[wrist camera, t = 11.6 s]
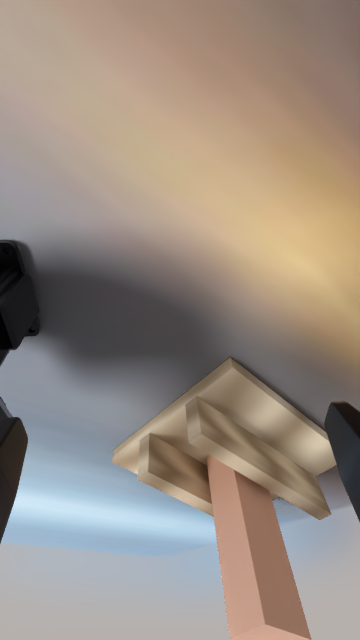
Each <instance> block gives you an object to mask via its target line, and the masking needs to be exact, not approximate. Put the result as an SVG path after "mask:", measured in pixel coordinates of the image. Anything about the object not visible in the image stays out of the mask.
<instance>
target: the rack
mask: <svg viewBox="0 0 360 640" xmlns="http://www.w3.org/2000/svg"><path fill="white" fill-rule="evenodd" d="M208 455H210V456H212V457H213V458H215V459H217V460H219V461H220V462H222V463H224V464H225V465H227V466H229V467H230V468H232V469H234V470H236V471H237V472H239V473H241V474H242V475H244V476H246V477H247V478H249V479H251V480H252V481H254V482H256V483H258V484H259V485H261V486H263V487H264V488H266V489H268V490H269V492H270V495H271V499H272V501H273V500H275V499H277V498H279V497H281V498H283V499H285V500H286V501H288V502H290V503H292V504H293V505H295V506H297V507H298V508H300V509H302V510H303V511H305V512H307V513H308V514H310V515H312V516H314V517H315V518H317V519H319V520H321V519H323V518H325V517H327V516H329V515H331V512H330V510H329V507H328V505H327V502H326V500H325V498H324V495H323V493H322V490H321V488H320V486H319V483H318V481H317V478H316V476H318V475H320V474H321V473H323V472H325V471H327V470H328V469H330V468H332V467H334V466H336V465H337V464H336V461H335V458H334V455H333V452H332V449H331V445H330V442H329V439H328V436H327V433H326V432H325V431H324V430H322V429H321V428H320V427H318V426H317V425H316V424H315V423H313V422H312V421H311V420H309V419H308V418H307V417H306V416H304V415H303V414H302V413H301V412H299V411H298V410H297V409H295V408H294V407H293V406H292V405H290V404H289V403H288V402H286V401H285V400H284V399H283V398H281V397H280V396H279V395H278V394H276V393H275V392H274V391H272V390H271V389H270V388H269V387H267V386H266V385H265V384H264V383H262V382H261V381H260V380H258V379H257V378H256V377H255V376H253V375H252V374H251V373H249V372H248V371H247V370H246V369H244V368H243V367H242V366H241V365H239V364H238V363H237V362H235V361H234V360H233V359H232V358H228V359H227V360H226V361H224V362H223V363H222V364H221V365H219V366H218V367H217V368H216V369H214V370H213V371H212V372H211V373H209V374H208V375H207V376H206V377H204V378H203V379H202V380H201V381H199V382H198V383H197V384H196V385H194V386H193V387H192V388H191V389H189V390H188V391H187V392H186V393H184V394H183V395H182V396H181V397H179V398H178V399H177V400H176V401H174V402H173V403H172V404H171V405H169V406H168V407H167V408H166V409H164V410H163V411H162V412H160V413H159V414H158V415H157V416H155V417H154V418H153V419H152V420H150V421H149V422H148V423H147V424H145V425H144V426H143V427H142V428H140V429H139V430H138V431H137V432H135V433H134V434H133V435H132V436H130V437H129V438H128V439H127V440H125V441H124V442H123V443H122V444H120V445H119V446H118V447H117V448H115V449H114V450H113V458H112V462H113V463H115V464H117V465H119V466H121V467H123V468H126V469H128V470H130V471H132V472H134V473H136V474H138V479H137V480H139V481H142V482H144V483H146V484H148V485H150V486H152V487H154V488H156V489H158V490H160V491H162V492H164V493H166V494H168V495H170V496H172V497H174V498H176V499H178V500H180V501H182V502H185V503H187V504H189V505H191V506H193V507H195V508H197V509H199V510H201V511H203V512H205V513H207V514H209V515H211V516H213V517H214V514H213V506H212V499H211V491H210V484H209V476H208V468H207V461H206V456H208Z"/></svg>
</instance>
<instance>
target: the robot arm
mask: <svg viewBox="0 0 360 640" xmlns="http://www.w3.org/2000/svg"><path fill="white" fill-rule="evenodd" d="M5 247H9V248H10V249H11V253H10V252H7V251H6V249H5ZM38 313H39V307H38V303H37V300H36V296H35V293H34V289H33V286H32V282H31V279H30V277H29V276H28V275H27V274H25V270H24V267H23V263H22V260H21V256H20V253H19V249H18V247H17V245H16V244H15V243H14V242H12V241H10V240H0V366H1V364H2V363H3V361H4V359H5V358H6V356H7V354H8V353H9V351H10V350H16V349H17V348H18V347H19V346H20V344H21V342H22V340H23V339H24V337H25V336H36V335H37V334H38V333H39V331H40V329H41V326H40V322H39V319H38V315H37V314H38ZM30 327H33V328H35V330H32V329H31V328H30ZM325 429H326V433H327V436H328V439H329V442H330V445H331V449H332V452H333V455H334V458H335V461H336V464H337V468H338V471H339V474H340V477H341V479H342V482H343V484H344V487H345V489H346V491H347V494H348V496H349V498H350V501H351V503H352V505H353V507H354V510H355V512H356V514H357V517H358V519H359V521H360V412H359V411H358V410H357V409H355V408H354V407H353V406H351V405H350V404H349V403H347V402H344V401H341V402H332V403H331V404H330V406H329V409H328V412H327V415H326V419H325ZM27 444H28V437H27V433H26V431H25V428H24V426H23V423H22V421H21V419H20V418H19V417H12V415H11V414H10V412H9V411H8V409H7V407H6V404H5V403H4V401H3V400H2V398H1V397H0V543H1V540H2V537H3V534H4V531H5V528H6V525H7V522H8V519H9V516H10V513H11V510H12V507H13V504H14V501H15V497H16V494H17V489H18V485H19V481H20V476H21V471H22V467H23V462H24V458H25V453H26V449H27Z"/></svg>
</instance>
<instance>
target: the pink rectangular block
mask: <svg viewBox="0 0 360 640" xmlns="http://www.w3.org/2000/svg"><path fill="white" fill-rule="evenodd" d="M206 461H207V468H208V476H209V484H210V491H211V499H212V506H213V514H214V522H215V529H216V537H217V544H218V551H219V559H220V567H221V574H222V582H223V590H224V597H225V605H226V613H227V620H228V628H229V635H230V638H231V639H234V640H311V637H310V634H309V630H308V626H307V623H306V619H305V615H304V612H303V608H302V605H301V601H300V598H299V594H298V591H297V587H296V584H295V580H294V577H293V573H292V569H291V566H290V562H289V559H288V555H287V552H286V548H285V545H284V541H283V538H282V534H281V531H280V527H279V524H278V520H277V517H276V513H275V509H274V506H273V502H272V499H271V495H270V492H269V490H268V489H266V488H264V487H263V486H261V485H259V484H258V483H256V482H254V481H252V480H251V479H249V478H247V477H246V476H244V475H242V474H241V473H239V472H237V471H236V470H234V469H232V468H230V467H229V466H227V465H225V464H224V463H222V462H220V461H219V460H217V459H215V458H213V457H212V456H210V455H208V456H206Z"/></svg>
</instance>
